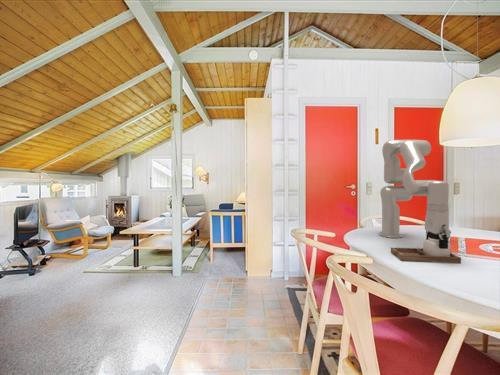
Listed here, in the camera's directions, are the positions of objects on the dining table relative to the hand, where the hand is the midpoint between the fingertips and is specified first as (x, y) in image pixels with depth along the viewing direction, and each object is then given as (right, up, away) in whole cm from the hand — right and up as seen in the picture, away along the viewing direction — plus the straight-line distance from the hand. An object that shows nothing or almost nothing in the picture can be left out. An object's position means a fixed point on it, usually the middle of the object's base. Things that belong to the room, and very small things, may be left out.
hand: (436, 245), depth 107 cm
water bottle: (+26, -5, +29) cm, 39 cm away
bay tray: (-5, -6, +1) cm, 8 cm away
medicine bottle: (0, -6, 0) cm, 6 cm away
